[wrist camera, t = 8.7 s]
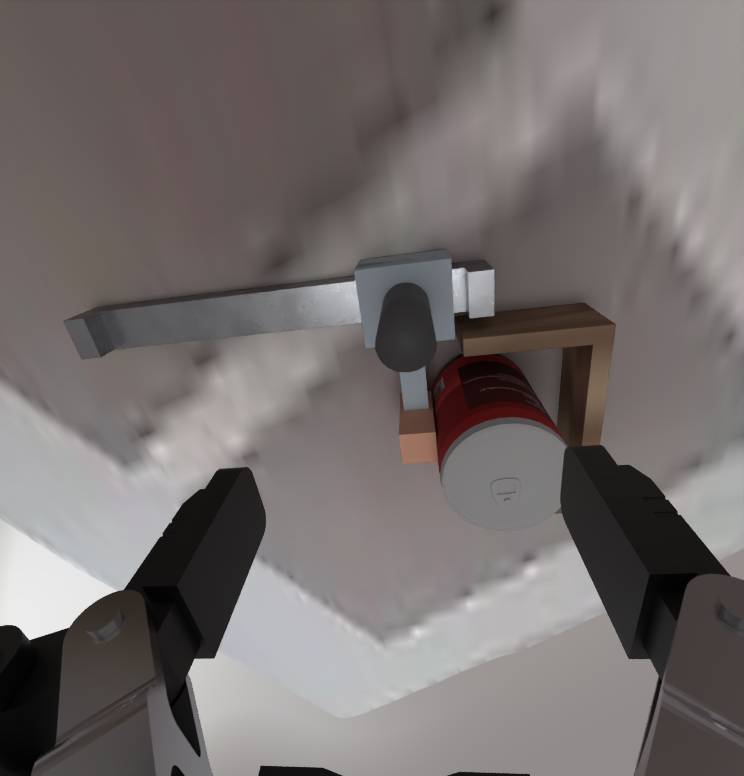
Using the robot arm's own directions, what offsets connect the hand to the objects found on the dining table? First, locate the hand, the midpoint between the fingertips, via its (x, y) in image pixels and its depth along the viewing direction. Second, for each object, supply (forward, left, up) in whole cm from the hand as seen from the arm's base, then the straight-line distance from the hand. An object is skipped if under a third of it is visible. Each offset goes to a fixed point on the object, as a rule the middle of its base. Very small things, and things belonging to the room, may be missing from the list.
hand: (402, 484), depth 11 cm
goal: (+10, +8, -22) cm, 25 cm away
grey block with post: (+4, 0, -21) cm, 22 cm away
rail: (0, -9, -22) cm, 24 cm away
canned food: (+9, +5, -22) cm, 24 cm away
